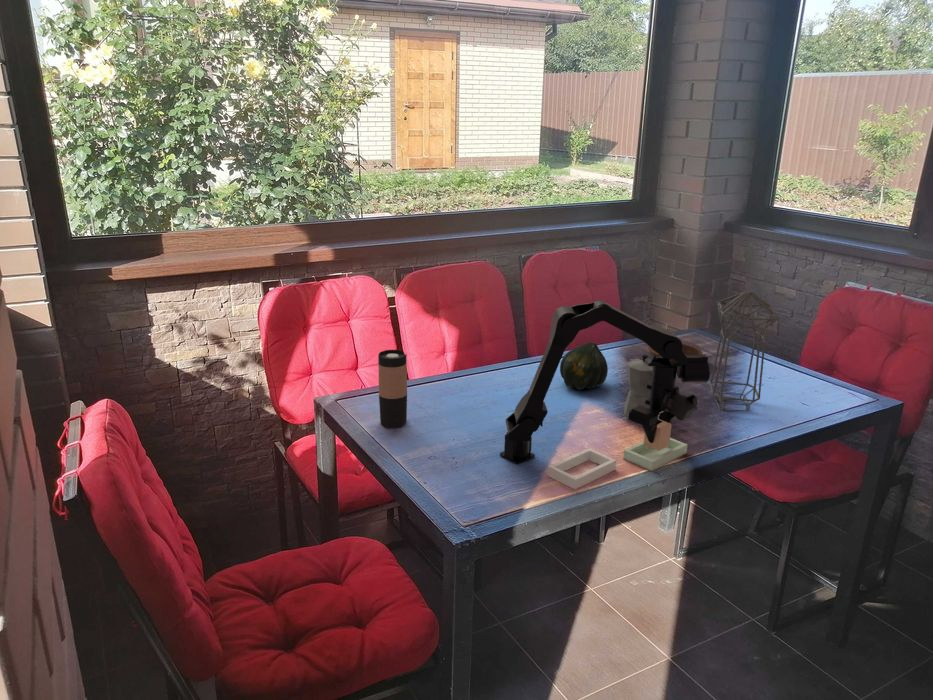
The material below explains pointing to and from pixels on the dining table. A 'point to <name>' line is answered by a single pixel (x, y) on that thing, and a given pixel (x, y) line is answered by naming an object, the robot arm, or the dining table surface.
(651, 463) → the green bin
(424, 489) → the dining table surface
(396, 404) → the travel mug
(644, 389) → the coffeepot
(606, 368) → the squash
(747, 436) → the dining table surface
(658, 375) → the robot arm
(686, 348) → the dish
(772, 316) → the geometric lantern
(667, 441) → the tan block
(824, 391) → the dining table surface
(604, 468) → the grey bin
